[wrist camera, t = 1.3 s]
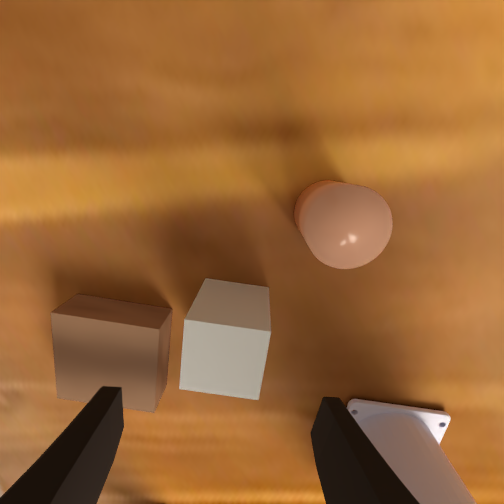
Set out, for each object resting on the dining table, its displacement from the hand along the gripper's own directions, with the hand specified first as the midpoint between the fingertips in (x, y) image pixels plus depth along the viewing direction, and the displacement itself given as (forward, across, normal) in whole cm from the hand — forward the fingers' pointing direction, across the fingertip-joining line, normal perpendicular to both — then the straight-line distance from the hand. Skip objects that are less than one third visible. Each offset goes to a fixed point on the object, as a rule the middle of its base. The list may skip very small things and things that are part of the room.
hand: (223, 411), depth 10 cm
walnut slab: (+11, +7, +7) cm, 15 cm away
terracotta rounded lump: (+10, -6, -5) cm, 13 cm away
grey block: (+10, -1, +3) cm, 10 cm away
